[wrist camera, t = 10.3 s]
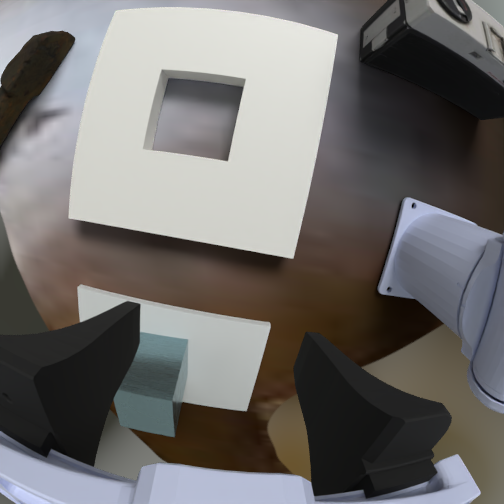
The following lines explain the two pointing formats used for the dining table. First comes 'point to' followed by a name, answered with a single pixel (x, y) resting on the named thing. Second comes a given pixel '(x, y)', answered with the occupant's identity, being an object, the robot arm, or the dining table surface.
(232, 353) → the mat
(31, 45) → the dark brown wooden bar
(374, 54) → the camera
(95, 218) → the plate
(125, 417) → the teal rectangular block
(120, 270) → the dining table surface
